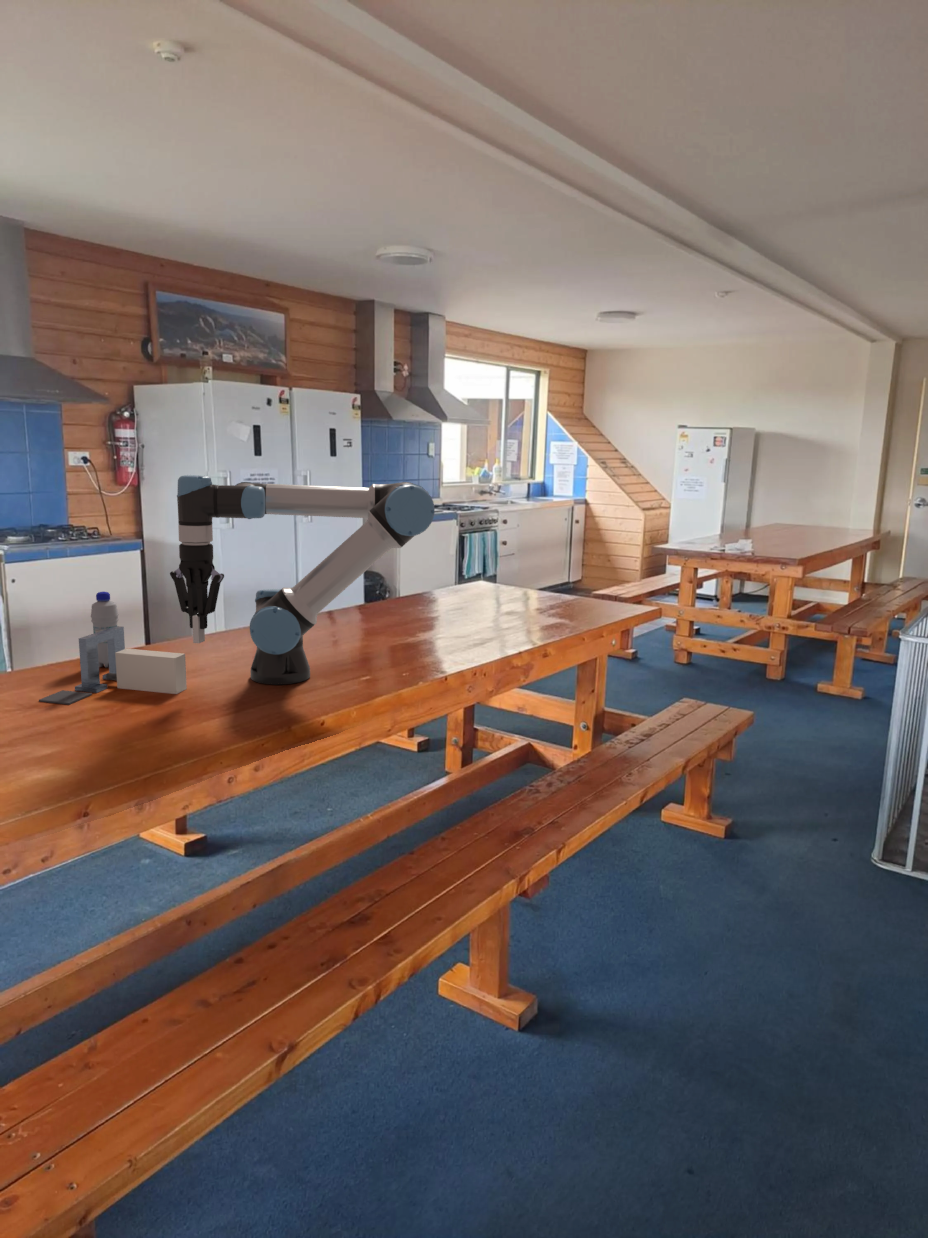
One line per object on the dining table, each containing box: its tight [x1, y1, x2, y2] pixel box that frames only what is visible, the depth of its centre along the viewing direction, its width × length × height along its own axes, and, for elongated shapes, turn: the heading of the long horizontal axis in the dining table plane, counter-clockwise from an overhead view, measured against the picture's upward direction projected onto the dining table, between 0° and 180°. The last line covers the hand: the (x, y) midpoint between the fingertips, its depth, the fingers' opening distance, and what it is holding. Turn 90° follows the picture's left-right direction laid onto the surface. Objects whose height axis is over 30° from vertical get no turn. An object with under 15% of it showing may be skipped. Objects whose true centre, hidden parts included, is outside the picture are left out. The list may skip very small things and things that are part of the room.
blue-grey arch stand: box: [74, 625, 126, 694], centre depth 206 cm, size 6×14×13 cm, turn 167°
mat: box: [38, 689, 93, 705], centre depth 195 cm, size 8×8×1 cm
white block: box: [106, 648, 188, 695], centre depth 204 cm, size 20×4×9 cm, turn 77°
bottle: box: [90, 591, 119, 668], centre depth 222 cm, size 7×7×20 cm
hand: (199, 641), depth 199 cm, fingers closed
